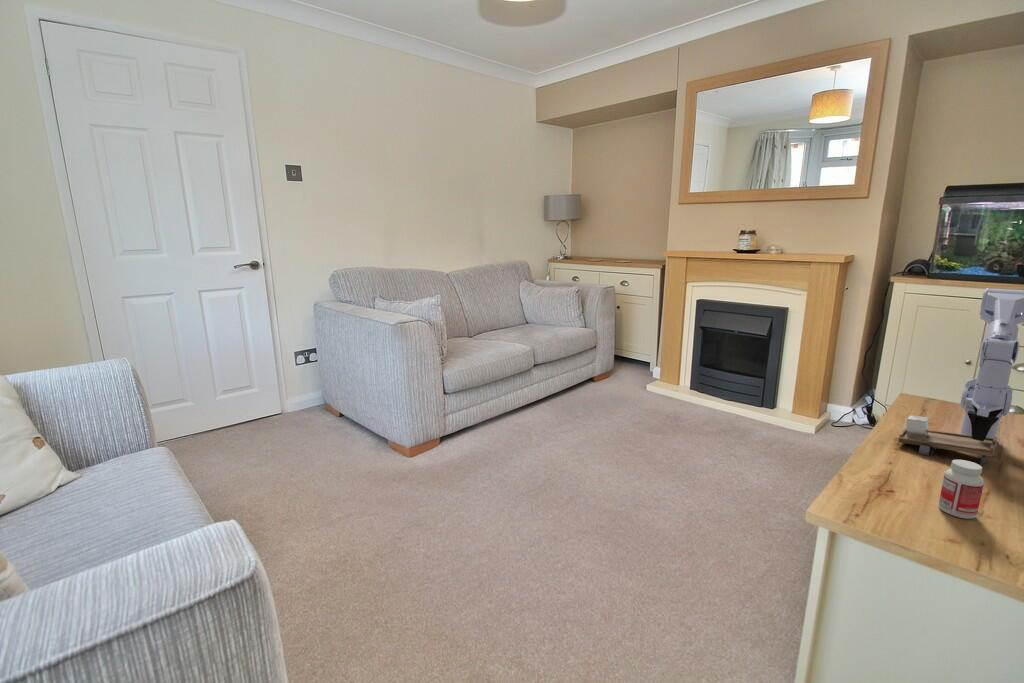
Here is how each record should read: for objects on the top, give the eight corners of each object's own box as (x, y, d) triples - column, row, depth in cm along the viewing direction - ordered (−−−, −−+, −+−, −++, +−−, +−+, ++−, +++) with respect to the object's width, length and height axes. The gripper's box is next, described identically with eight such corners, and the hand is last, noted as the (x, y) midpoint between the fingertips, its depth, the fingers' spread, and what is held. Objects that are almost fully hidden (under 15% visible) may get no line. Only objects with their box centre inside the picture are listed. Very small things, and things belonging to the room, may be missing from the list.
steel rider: (910, 432, 138) (910, 415, 137) (928, 434, 135) (928, 417, 134) (906, 436, 135) (906, 418, 134) (925, 438, 132) (925, 421, 131)
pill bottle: (980, 513, 103) (991, 466, 100) (971, 523, 99) (982, 474, 97) (943, 500, 108) (953, 455, 105) (933, 509, 104) (943, 462, 102)
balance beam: (907, 431, 141) (907, 425, 141) (997, 444, 127) (997, 436, 127) (898, 442, 134) (898, 435, 134) (992, 456, 120) (992, 448, 120)
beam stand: (909, 436, 142) (911, 426, 141) (987, 455, 130) (989, 445, 129) (898, 449, 133) (900, 439, 132) (980, 471, 121) (983, 460, 120)
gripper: (973, 376, 130) (963, 424, 133) (965, 387, 120) (954, 438, 123) (1010, 382, 124) (999, 431, 127) (1005, 394, 115) (993, 447, 118)
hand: (979, 435), depth 125 cm, fingers open, 7 cm apart
